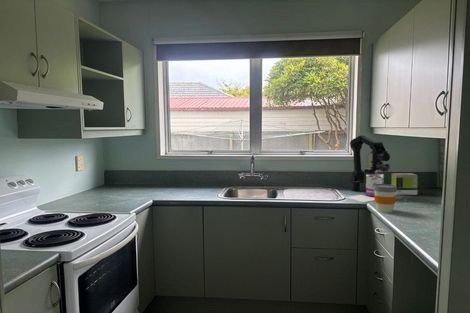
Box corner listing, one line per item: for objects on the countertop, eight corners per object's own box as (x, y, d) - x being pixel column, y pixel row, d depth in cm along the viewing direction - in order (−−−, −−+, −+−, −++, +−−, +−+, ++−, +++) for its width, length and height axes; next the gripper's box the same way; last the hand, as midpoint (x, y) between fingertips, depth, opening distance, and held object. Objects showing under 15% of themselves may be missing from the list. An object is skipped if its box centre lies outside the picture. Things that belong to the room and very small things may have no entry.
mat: (360, 195, 239) (360, 194, 239) (379, 199, 225) (379, 199, 225) (344, 198, 231) (344, 197, 231) (363, 202, 217) (363, 201, 217)
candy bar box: (383, 194, 233) (384, 174, 226) (382, 198, 229) (383, 177, 223) (366, 192, 238) (367, 172, 232) (365, 196, 234) (366, 175, 228)
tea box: (411, 192, 249) (412, 172, 247) (417, 195, 239) (418, 174, 237) (390, 192, 250) (391, 172, 249) (395, 195, 240) (396, 174, 239)
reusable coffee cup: (376, 207, 205) (377, 183, 204) (398, 210, 197) (399, 185, 196) (370, 211, 195) (370, 186, 194) (393, 214, 188) (394, 188, 186)
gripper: (378, 161, 221) (377, 184, 222) (395, 160, 230) (394, 182, 231) (363, 160, 230) (363, 182, 232) (381, 158, 240) (380, 180, 241)
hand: (375, 181), depth 234 cm, fingers closed
